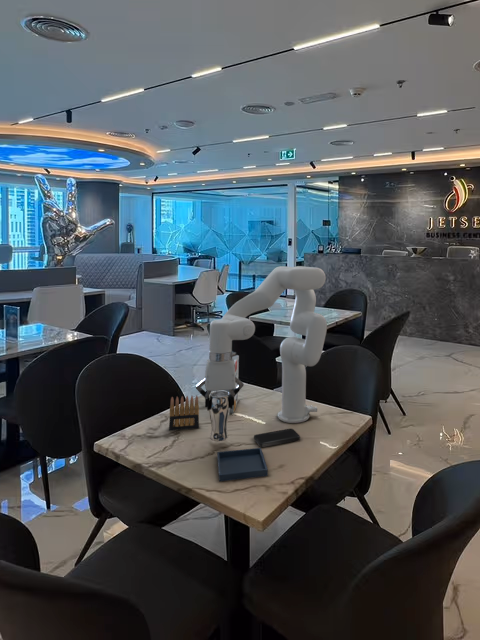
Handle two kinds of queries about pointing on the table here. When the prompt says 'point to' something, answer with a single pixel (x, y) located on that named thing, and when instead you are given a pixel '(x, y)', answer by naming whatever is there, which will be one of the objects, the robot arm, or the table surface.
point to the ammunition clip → (186, 420)
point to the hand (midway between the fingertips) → (219, 407)
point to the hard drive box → (236, 365)
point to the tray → (241, 464)
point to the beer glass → (219, 415)
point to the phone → (276, 437)
